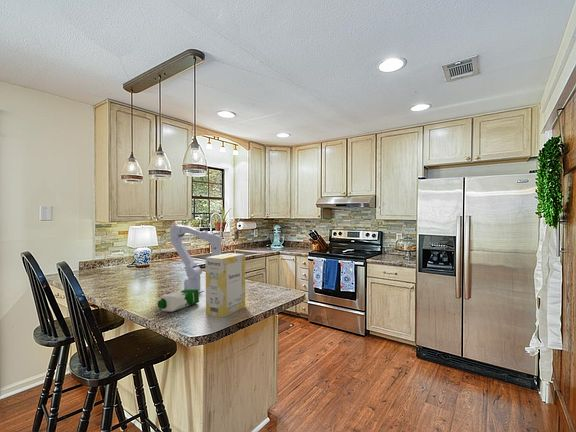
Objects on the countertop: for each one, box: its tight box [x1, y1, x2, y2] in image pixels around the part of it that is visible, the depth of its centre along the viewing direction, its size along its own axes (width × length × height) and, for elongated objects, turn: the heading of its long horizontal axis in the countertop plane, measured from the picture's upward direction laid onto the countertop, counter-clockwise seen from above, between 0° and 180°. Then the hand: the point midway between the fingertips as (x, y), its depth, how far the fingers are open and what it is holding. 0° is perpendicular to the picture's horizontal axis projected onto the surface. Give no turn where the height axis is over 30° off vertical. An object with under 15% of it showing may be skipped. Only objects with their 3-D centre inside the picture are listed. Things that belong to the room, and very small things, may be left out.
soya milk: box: [157, 289, 200, 312], centre depth 155 cm, size 9×9×20 cm
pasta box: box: [205, 252, 246, 318], centre depth 151 cm, size 18×10×28 cm, turn 152°
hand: (217, 276), depth 184 cm, fingers closed
